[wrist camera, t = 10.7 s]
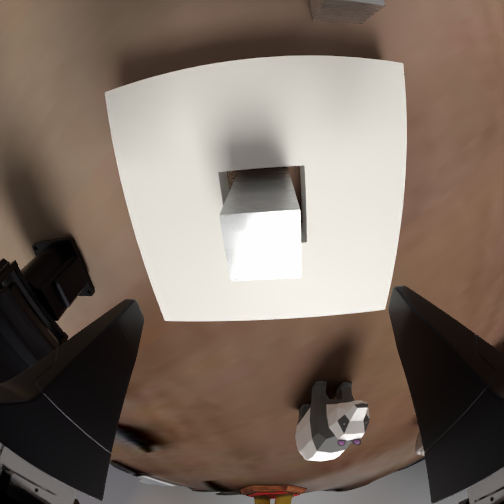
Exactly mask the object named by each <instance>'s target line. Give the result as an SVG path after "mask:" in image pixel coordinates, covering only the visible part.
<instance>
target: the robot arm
mask: <svg viewBox="0 0 504 504" xmlns="http://www.w3.org/2000/svg"><path fill="white" fill-rule="evenodd" d="M69 242H70V243H69ZM33 250H34V252H35V255H36V257H35V258H34V259H32V260H31V261H30V262H29V263H28V264H27V265H26V266H25V267H24V268H23V269H22V270H21V271H20V269H19V267H18V264H17V262H16V260H14V261H13V262H11V263H9V262H8V261H6V260H5V259H4V258H3V259H2V260H1V261H0V504H79V502H78V500H77V499H75V496H76V493H77V490H78V491H80V492H82V493H84V494H86V495H88V496H91V497H93V498H95V499H98V500H100V501H102V499H103V495H104V489H105V483H106V477H107V472H108V467H109V462H110V457H111V452H112V448H113V443H114V439H115V434H116V430H117V426H118V422H119V418H120V414H121V410H122V406H123V403H124V399H125V395H126V392H127V388H128V385H129V381H130V378H131V374H132V371H133V368H134V364H135V361H136V357H137V353H138V348H139V343H140V338H141V333H142V329H143V324H144V317H143V314H142V312H141V309H140V307H139V305H138V302H137V301H136V300H134V299H126V300H124V301H122V302H121V303H119V304H118V305H117V306H115V307H114V308H112V309H111V310H109V311H108V312H107V313H105V314H104V315H102V316H101V317H99V318H98V319H97V320H95V321H94V322H92V323H91V324H90V325H88V326H87V327H85V328H84V329H83V330H81V331H80V332H78V333H77V334H76V335H74V336H73V337H72V338H70V339H69V340H68V335H67V334H66V333H65V332H63V331H62V329H61V328H60V327H59V325H58V324H57V323H56V322H55V321H58V320H59V319H60V317H61V316H62V314H63V313H64V312H65V310H66V309H67V308H68V307H69V306H70V305H71V304H72V303H73V301H74V300H75V299H76V298H77V296H92V295H93V294H94V293H95V290H94V288H93V286H92V283H91V281H90V279H89V277H88V274H87V272H86V270H85V267H84V265H83V262H82V260H81V257H80V255H79V252H78V250H77V247H76V244H75V242H74V240H73V239H72V238H70V237H69V238H61V239H54V240H48V241H41V242H36V243H34V244H33ZM389 314H390V319H391V323H392V327H393V332H394V336H395V341H396V346H397V349H398V353H399V356H400V359H401V362H402V366H403V369H404V372H405V376H406V379H407V383H408V386H409V390H410V393H411V397H412V401H413V405H414V409H415V413H416V417H417V421H418V425H419V430H420V434H421V439H422V444H423V449H424V452H425V453H424V455H425V461H426V467H427V473H428V479H429V487H430V495H431V502H432V504H434V503H436V502H439V501H441V500H443V499H446V498H448V497H450V496H453V495H455V494H457V493H459V492H461V491H463V490H465V489H467V491H468V497H469V498H467V499H465V500H463V501H461V502H459V504H504V353H502V352H500V351H499V350H497V349H496V348H494V347H493V346H491V345H490V344H489V343H487V342H486V341H484V340H483V339H482V338H480V337H479V336H478V335H475V333H473V332H472V331H471V330H469V329H468V328H466V327H465V326H464V325H462V324H461V323H459V322H458V321H457V320H455V319H454V318H452V317H451V316H449V315H448V314H447V313H445V312H444V311H442V310H441V309H439V308H438V307H436V306H435V305H433V304H432V303H430V302H429V301H427V300H426V299H424V298H423V297H421V296H420V295H418V294H417V293H415V292H414V291H412V290H411V289H409V288H408V287H406V286H395V287H394V288H393V290H392V294H391V298H390V302H389Z"/></svg>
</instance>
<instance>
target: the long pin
mask: <svg viewBox="0 0 504 504" xmlns="http://www.w3.org/2000/svg"><path fill="white" fill-rule="evenodd" d="M219 217H220V223H221V229H222V236H223V242H224V248H225V254H226V260H227V266H228V271H229V277H230V281H242V280H262V279H280V278H297V277H301V223H300V208H299V204H298V201H297V197H296V194H295V190H294V187H293V184H292V180H291V177H290V174H289V171H288V168H276V169H262V170H249V171H238V173H237V175H236V177H235V180H234V182H233V184H232V187H231V189H230V191H229V194H228V196H227V198H226V201H225V203H224V205H223V208H222V210H221V212H220V215H219Z"/></svg>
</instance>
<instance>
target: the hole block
mask: <svg viewBox="0 0 504 504" xmlns="http://www.w3.org/2000/svg"><path fill="white" fill-rule="evenodd" d="M105 98H106V105H107V112H108V118H109V124H110V130H111V136H112V141H113V146H114V151H115V156H116V161H117V166H118V170H119V175H120V179H121V183H122V187H123V191H124V195H125V199H126V203H127V207H128V211H129V214H130V218H131V222H132V225H133V229H134V232H135V235H136V239H137V242H138V245H139V249H140V252H141V255H142V258H143V261H144V264H145V267H146V270H147V273H148V276H149V279H150V282H151V285H152V287H153V290H154V293H155V296H156V298H157V301H158V304H159V306H160V309H161V312H162V314H163V317H164V319H165V321H241V320H267V319H287V318H302V317H316V316H328V315H339V314H350V313H359V312H368V311H377V310H385V307H386V303H387V298H388V294H389V289H390V285H391V280H392V275H393V269H394V264H395V258H396V253H397V246H398V240H399V233H400V225H401V217H402V208H403V198H404V187H405V172H406V145H407V119H406V93H405V79H404V68H403V63H398V62H392V61H385V60H377V59H368V58H358V57H344V56H276V57H262V58H251V59H242V60H234V61H227V62H220V63H214V64H208V65H202V66H197V67H192V68H187V69H182V70H178V71H174V72H170V73H166V74H162V75H158V76H154V77H150V78H147V79H144V80H140V81H137V82H134V83H130V84H127V85H124V86H121V87H118V88H116V89H113V90H110V91H107V92H105ZM284 166H300V180H301V203H302V223H301V277H297V278H280V279H262V280H242V281H230V277H229V271H228V266H227V260H226V254H225V248H224V242H223V236H222V229H221V223H220V217H219V215H220V212H221V210H222V208H223V205H224V203H225V201H226V198H227V196H228V194H229V184H228V176H227V171H235V170H245V169H257V168H269V167H284Z"/></svg>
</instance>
